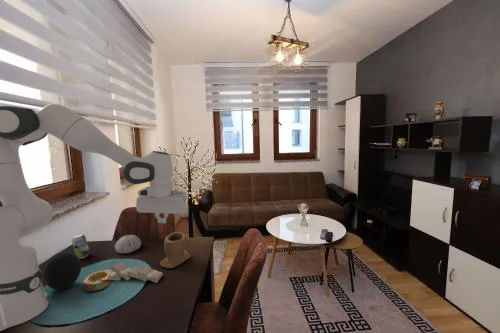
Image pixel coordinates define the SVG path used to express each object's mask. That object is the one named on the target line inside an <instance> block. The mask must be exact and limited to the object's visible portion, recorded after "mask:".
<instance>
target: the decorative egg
mask: <svg viewBox="0 0 500 333" xmlns="http://www.w3.org/2000/svg"><path fill="white" fill-rule="evenodd" d="M81 270H82V263H81V261H80V259H79V258H78V257H77V255H76V254H75V252H72V251H67V250H66V251H65V250H64V251H60V252H58V253H55V254H54V255H52V256H51V257H50V258H49V259H48V260H47V262H46V263H45V265H44V268H43V272H42V277H43V281H44V283H45V284H46V286H47V287H49V288H50V289H52V290H58V291H59V290H61V291H62V290H64V289H68V288H69V287H71V286H72V285H73V284H74V283H75V282H76V281H77V280H78V279H79V276H80V274H81Z"/></svg>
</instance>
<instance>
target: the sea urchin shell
mask: <svg viewBox="0 0 500 333" xmlns="http://www.w3.org/2000/svg"><path fill="white" fill-rule="evenodd" d="M141 245H142V240H141V239H140V237H139V236H138V235H137V236H136V235H135V234H126V235H124V236H121V237H120V238H119V239H118V240H117V241H116V242H115V244H114V250H115V252H116V253H117V254H123V255H124V254H130V253H133V252H135V251H137V250H138V249H140V247H141Z"/></svg>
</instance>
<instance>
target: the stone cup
mask: <svg viewBox="0 0 500 333" xmlns="http://www.w3.org/2000/svg"><path fill="white" fill-rule="evenodd" d="M163 243H164V244H163V245H164V252H165V254H166V257H165V258H163V259H161V261H159V264H160V266H161V267H163V268H165V269H173V268H176V267H178V266H180V265H181V264H183V263H184V262H185V261H187V260H189V259H190V258H191V257H192V256H191V254H190V253H189V252H188V250H187V249H186V248H185V247H186V244H187V237H186V235H185V233H183V232H180V231H175V232H171V233H170V234H168V235H167V236H166V237H165V238H164V241H163Z"/></svg>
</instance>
